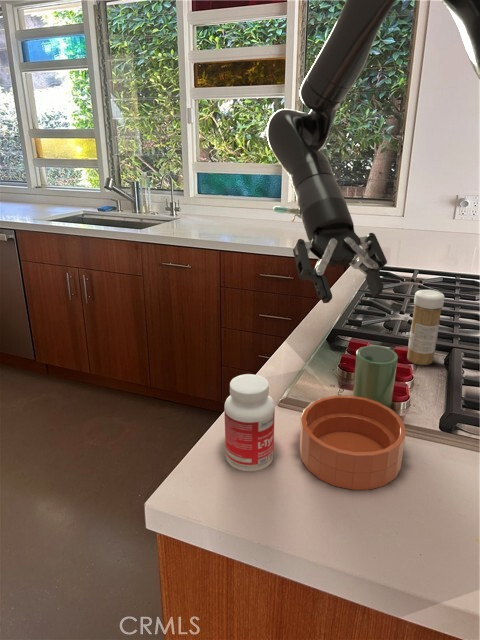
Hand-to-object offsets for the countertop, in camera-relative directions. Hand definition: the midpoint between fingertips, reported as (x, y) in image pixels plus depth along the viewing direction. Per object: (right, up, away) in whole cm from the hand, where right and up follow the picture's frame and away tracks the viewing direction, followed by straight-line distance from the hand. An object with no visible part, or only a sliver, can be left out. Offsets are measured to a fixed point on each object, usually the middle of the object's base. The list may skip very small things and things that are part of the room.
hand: (353, 297), depth 70 cm
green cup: (+2, -17, -1) cm, 17 cm away
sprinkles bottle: (+14, -12, +11) cm, 21 cm away
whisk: (+11, +45, +137) cm, 144 cm away
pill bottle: (-16, -21, -11) cm, 29 cm away
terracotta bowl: (-3, -21, -12) cm, 24 cm away
